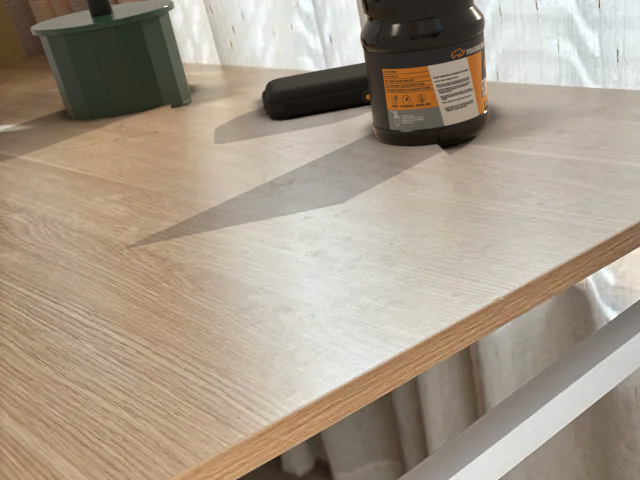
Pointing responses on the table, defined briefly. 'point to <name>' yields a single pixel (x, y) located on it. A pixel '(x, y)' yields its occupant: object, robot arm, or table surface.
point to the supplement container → (425, 70)
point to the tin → (118, 69)
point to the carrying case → (316, 92)
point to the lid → (102, 17)
